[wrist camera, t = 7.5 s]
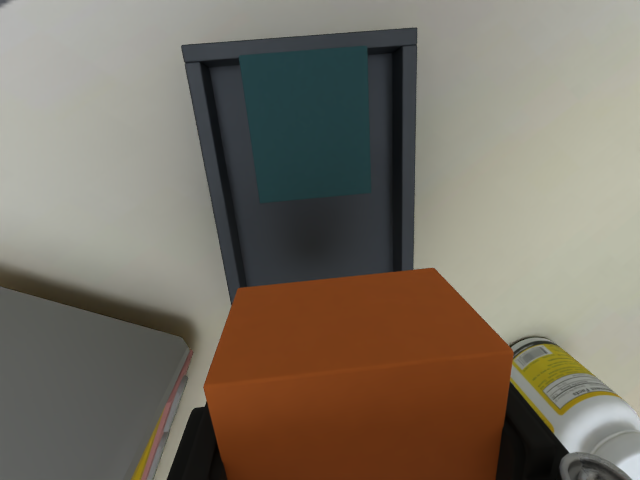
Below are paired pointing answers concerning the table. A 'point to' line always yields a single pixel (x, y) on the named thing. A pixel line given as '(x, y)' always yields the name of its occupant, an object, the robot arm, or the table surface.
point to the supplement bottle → (576, 404)
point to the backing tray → (318, 213)
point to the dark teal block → (308, 122)
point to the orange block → (358, 382)
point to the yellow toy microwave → (83, 392)
